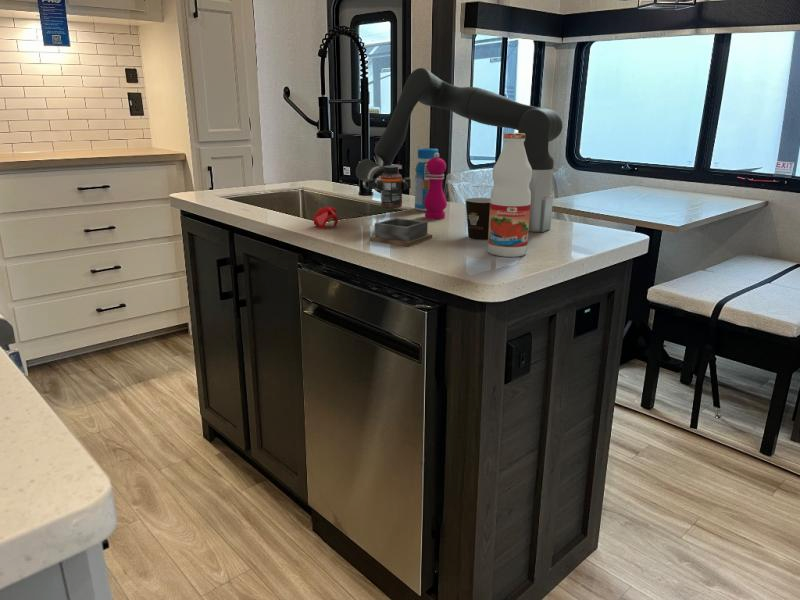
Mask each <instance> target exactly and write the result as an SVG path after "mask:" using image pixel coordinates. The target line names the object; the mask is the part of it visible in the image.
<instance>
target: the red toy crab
mask: <svg viewBox="0 0 800 600" xmlns="http://www.w3.org/2000/svg"><path fill="white" fill-rule="evenodd" d="M336 212H337V209H336V208H335V207H333V206H325V207H322V208H319V210H317V211H316V212H315V214H314V217H313V224H314V225H315V226H316V225H318V227H320V228H321V229H323V228H326V229H327V226H326V224H327V222H328V221H329V220H330V219H333V220H334V224H333V227H334V226H336V227H337V225H338V221H339V217H338V216H337V215H336Z"/></svg>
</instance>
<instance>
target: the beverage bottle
mask: <svg viewBox="0 0 800 600" xmlns="http://www.w3.org/2000/svg"><path fill="white" fill-rule="evenodd" d="M435 153H439V149H438V148H430V147H429V148H428V147H425V148H424V147H423V148H422V147H421V148H420V147H419V148H418V149H417V160H418V161H417V164H416V166H415V169H414V171H415V176H414V210H416V211H419V212H421V211H422V212H426V211H427V209H426V208H425V207H424V200H425V197H426V195H427V193H428V190H429V184H430V182H429V179H428V174H429V172H428V170H427V163H428V161H429V160H430V159H432V158H434V154H435Z"/></svg>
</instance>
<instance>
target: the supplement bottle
mask: <svg viewBox="0 0 800 600" xmlns="http://www.w3.org/2000/svg"><path fill="white" fill-rule="evenodd" d="M402 179H403V177H402V174H400V172H399V166H398V165H391V166H384V173H383V174H382V175H381V182H382V183H383V191H381V193H380V206H381V207H382V208H383V209H399V208H401V207H402V206H403V190H402Z"/></svg>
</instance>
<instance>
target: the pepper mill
mask: <svg viewBox="0 0 800 600" xmlns="http://www.w3.org/2000/svg"><path fill="white" fill-rule="evenodd" d="M446 169H447V163H446V161H445V160H444V159H443V158H441V157H440V153H439V152H438V153H435V154H434V158H432V159H430V160H429V161H428V163H427V170H428V172H429V174H428V179H429V182H430V184H429V190H428V193H427V195H426V197H425V200H424V207H425V208H426V209H427V211H424V218H425V219H428V220H429V219H430V220H442V219H445V217H446V212H445V209H446V208H447V206H448V204H447V203H448V201H447V198H446V195H445V192H444V190H443V180H444V179H445V174H444V172H445V171H446Z"/></svg>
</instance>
